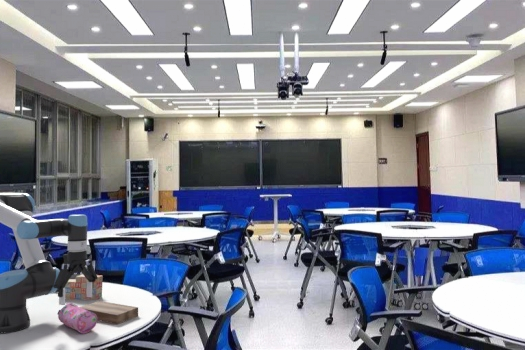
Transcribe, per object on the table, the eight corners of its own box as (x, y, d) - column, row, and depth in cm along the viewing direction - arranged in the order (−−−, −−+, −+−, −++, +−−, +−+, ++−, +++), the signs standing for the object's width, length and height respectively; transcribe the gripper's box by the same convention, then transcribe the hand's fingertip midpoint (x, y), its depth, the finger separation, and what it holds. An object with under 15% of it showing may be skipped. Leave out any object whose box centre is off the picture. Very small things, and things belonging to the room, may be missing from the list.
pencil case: (56, 324, 172) (57, 303, 172) (77, 319, 179) (78, 299, 179) (75, 337, 157) (76, 314, 158) (98, 331, 164) (98, 309, 164)
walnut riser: (117, 324, 172) (117, 315, 172) (77, 316, 183) (77, 307, 183) (138, 316, 184) (138, 307, 184) (99, 309, 195) (99, 300, 195)
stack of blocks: (59, 298, 214) (60, 275, 214) (66, 295, 220) (67, 273, 221) (96, 300, 211) (96, 277, 212) (102, 297, 217) (102, 274, 218)
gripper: (57, 255, 156) (55, 309, 155) (106, 247, 178) (105, 294, 177) (44, 254, 159) (43, 307, 158) (94, 246, 182) (93, 293, 180)
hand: (76, 300), depth 168 cm, fingers open, 13 cm apart
